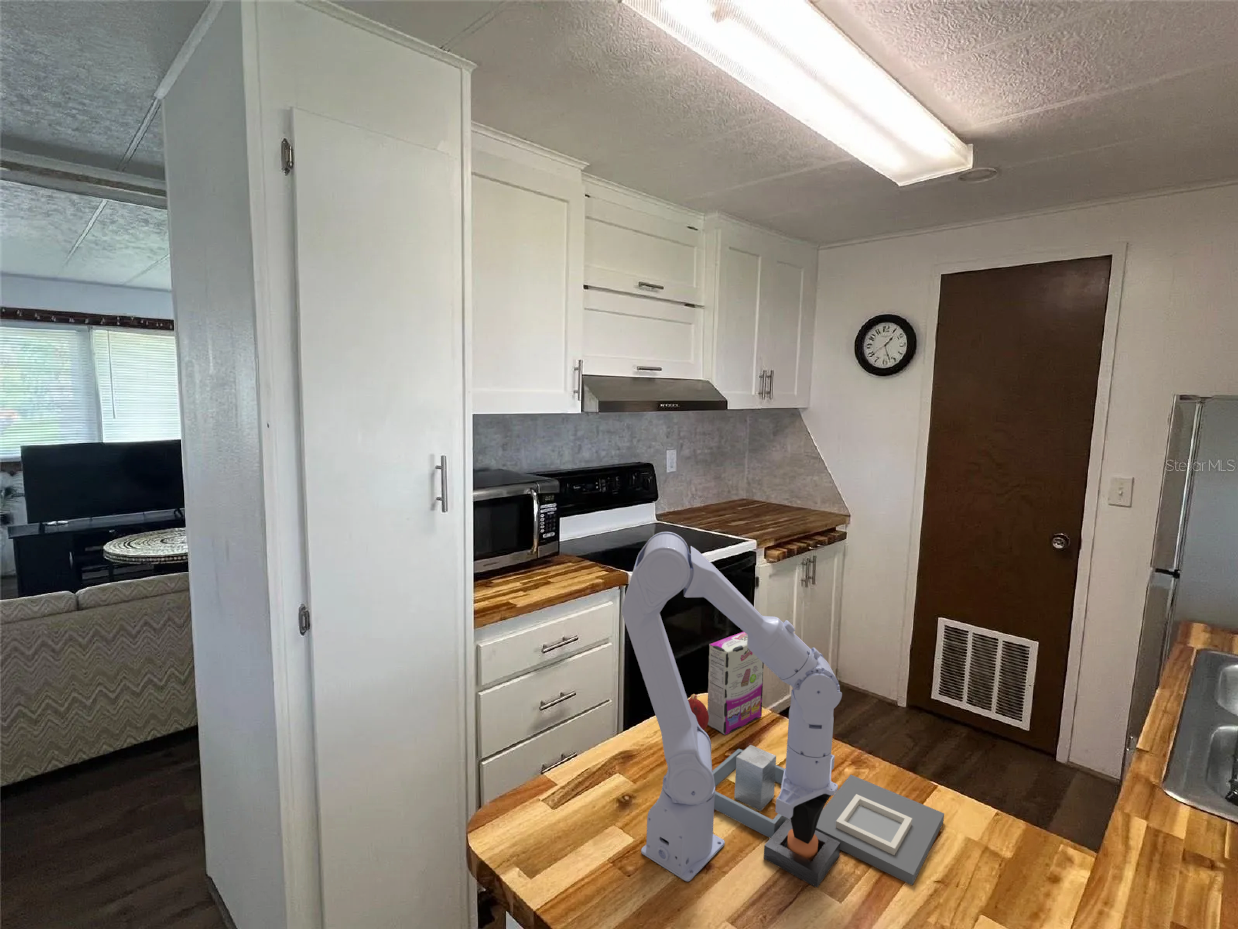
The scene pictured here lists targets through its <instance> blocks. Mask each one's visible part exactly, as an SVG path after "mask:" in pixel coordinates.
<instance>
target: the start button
mask: <svg viewBox="0 0 1238 929" xmlns="http://www.w3.org/2000/svg"><path fill="white" fill-rule="evenodd" d="M787 849H789V850H791V851H793V852H795V853H797V854H798V855H800V856H802V857H804V858H806V859H808V860H810V861H812V860H813V859H814V858H815V856H816V855H817V854H818V838H817V836H816V835H815V834H814V836H813V838H812V840H811V841H810V842H809V844H807V843H805V842H803V841H801V840H799V839H797V838H795V837H794V833H793V829H791V830H790V831H789V832H788V840H787Z"/></svg>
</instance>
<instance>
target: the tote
mask: <svg viewBox="0 0 1238 929" xmlns="http://www.w3.org/2000/svg"><path fill="white" fill-rule="evenodd" d="M743 751H744V749H740V748H738V749H736V750H735V751H734V752H733V753H732V754H730V755H729V756H727V758H726V759H725V760H723V761H722V762H721V763H720V764H719V765H717V766H716V767H715V768H713V769H712V772H713V776H714V781H715V787H717V786H718V785H719V784H720V783H721V782H723V780H724V779H725V778H727V777H728V776H730V774H731V773H733V772H734V771H736V757H737V756H738V755H739V754H740V753H741V752H743ZM784 769H785V768H784V767H782V766H779V765H777V764H776V770H775V783H777V784H780V785H782V779H783V774H784ZM714 811H717V812H719V813H720V814H723V815H725V816H726V817H728V818H730V819H732V820H734V821H736V822H738V823H740V824H741V825H744V826H745V827H748V828H750V829H752V830H754V831H756V832H757V833H760V834H761V835H763V836H765V837H768V838H769V839H770V838H771V837H772V836H773V835H774V833H775V832H776V831H777V830H778V829H779V828H780V827H781V825H782V824H783V823H784V822H785V821H786V820H787V818H786V817H784V816H782V815H780V814H778V813H776V815H775V816H774V818H770V817H768V816H766V815H763V814H761V813H760V812H758V811H757V810H753V809H752V808H750V807H747V806H746V805H744V804H742V803H741V802H739V801H736V800H734V799H732V798H730V797H728V796H726V795H724V794H722V793H720V792H719V791H716V790H715V801H714Z"/></svg>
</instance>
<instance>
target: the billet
mask: <svg viewBox="0 0 1238 929" xmlns="http://www.w3.org/2000/svg"><path fill="white" fill-rule="evenodd" d="M776 765H777V755H776V754H773V753H770V752H768V751H766V750H764V749H762V748H760V747H757V746H754V745H752V744H750V745H749V746H746V748H745V749H743V752H741V753H740V754H739V755H738V756H737V757H736V769H735V775H734V776H735V780H734V797H733V799H735V800H737V801H738V802H740V803H743V804H745V805H747V806H749V807H751V808H753V809H755V810H756V811H759V812H762V811H763V809H764V808H765V807H766V806H767V805H768V804H769V803H770V802H771V801H772V800H773V799H774V798H775V784H776V782H775V770H776Z"/></svg>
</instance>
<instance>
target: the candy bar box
mask: <svg viewBox="0 0 1238 929" xmlns="http://www.w3.org/2000/svg"><path fill="white" fill-rule="evenodd" d="M764 666H765V664H764V663H763V662H762V661H761V660H760V659H759V658H758V657H757V656H756V655H754V654H753V653H752V652H751V651H750V650H749V649H748V646H747V634H746V633H745V632H744V631H741V632H739V633H737V634H734V635H730V636H728V637H725V638H722V639H720V640H717V641H714V642H712V643H709V644H708V675H707V676H708V677H707V678H708V681H707V682H708V683H707V685H708V686H707V707H706V709H707V711H708V715H709V722H708V725H707V726H709V727H710V728H712V729H713V730H715V731H717V732H718V733H720V734H723V735H724V736H725V735H728V734H730V733H733V732H735V731H736V730H739V729H740V728H742V727H744V726H745V725H748V724H749V723H751V722H754V721H756V720H758V719H759V718H761V717H762V715H763V692H764V690H763V689H764V688H763V687H764Z"/></svg>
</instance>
